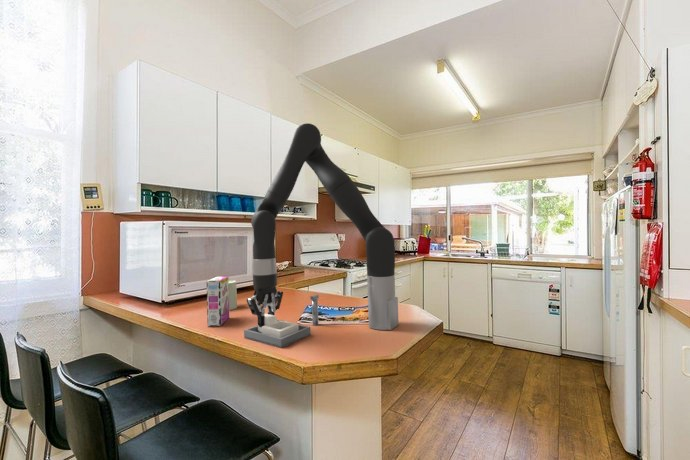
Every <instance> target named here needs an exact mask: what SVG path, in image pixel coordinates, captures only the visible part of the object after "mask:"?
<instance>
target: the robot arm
mask: <svg viewBox="0 0 690 460" xmlns="http://www.w3.org/2000/svg"><path fill="white" fill-rule="evenodd" d="M321 135H322V134H321V132H320V129H319V128H318V127H317V126H316V125H315V124H312V123H306V122H305V123H303V124H300V125H299V126H298V127H297V128H296V129H295V132H294V134H293V137H292V141H291V143H290V145H289V146H290V147H289V148H288V150H287V154H286V156H285V157H284V160H283V162H282V163H281V166H280V168H279V169H278V171H277V172H276V175H275V176H274V178H273V180H272V182H271V184H270V186H269V187H268V189H267V191H266V192H265V194H264V197H263V199H262V201H261V202H260V204H259V206H258V207H257V209H256V210H255V212H254V214H253V215H252V217H251V221H250V223H251V227H252V229H253V244H252V280H253V281H252V286H253V289H254V292H253V295H252V296H251V297H247V298H246V303H247V306H248V308H249V310H250V313H251V314H252V315H254V316H257V325H258V326H259V327H262V326H265V322H264V318H265V316H264V314H266V309H267V311H268V312H267V314H270V315H275V313H276V311H277V310H280V307H281V303H282V299H283V296H284V292H283V290H278V289H277V285H278V272H277V271H278V269H277V268H278V267H277V261H276V247H275V246H276V245H275V241H276V231H277V230H276V229H277V228H276V226H277V224H276V222H277V221H276V218H277V217H278V214H279V213H280V211H281V210H282V208H284V206H285V205H286V203H287V201H288V200H289V197H290V196H291V194H292V192H293V190H294V188H295V185H296V183H297V180H298V178H299V175H300V173H301V170H302V168H303V166H304V164H305V163H306V164H307V166H309V167H310V168H311V170H313V172H314V174H315V176H316V177H317V178H318V180H319V181H320V183H321V185H322V186H323V188H324V189H325V191H326V192H327V194H328V195H329V196H330V198H331V200H332V201H333V202H334V203H335V205H336V206H337V207H338V209H340V211H341V212H342V213H343V214H344V215H345V216H346V217H347V218H348V219H349V220H350V221H351V222H352V223H353V225H355V228H357V230H358V231H359V233H360V236H361V237H362V239H363V240H364V242H365V250H366V251H365V252H366V253H365V254H366V255H365V256H366V275H367V276H366V278H367V311H368V312H367V313H368V314H367V315H368V327H369V328H370V329H374V330H380V331H386V330H388V331H391V330H393V329H395V328H396V327H398V326H400V325H399V298H398V296H396V275H395V274H396V273H395V272H396V271H395V268H396V259H395V258H396V257H395V254H396V253H395V246H396V245H395V238H394V235H393V233H392V232H391V231H390V230H389V229H387V228H386V227H385V226H384V225H383V224H382V223H381V222H380V220H378V218H377V217H376V216H375V215H374V214H373V212H372V210H371V209H370V207H369V205H368V203H367V201H366V200H365V198H364V196H363V195H362V192H361V191H360V190H359V188H358V186H357V185H356V184H355V182H354V181H353V180H352V179H351V177H350V176H349V175H348V174H347V173H346V172H345V171H344V170H343V169H341V167H339V166H338V165H337V164H335V163H334V162H333V161H332V160H331V158H330V157H329V156H328V154H327V152H326V151H325V149H324V148H323V146H322V144H321V143H322V136H321ZM275 316H276V315H275Z"/></svg>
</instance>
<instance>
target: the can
mask: <svg viewBox="0 0 690 460" xmlns="http://www.w3.org/2000/svg"><path fill="white" fill-rule="evenodd" d="M237 295H238V293H237V280H233V279H230V280H229V311H233V310H236V309H237V308H238V297H237Z"/></svg>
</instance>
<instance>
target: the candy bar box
mask: <svg viewBox="0 0 690 460" xmlns="http://www.w3.org/2000/svg"><path fill="white" fill-rule="evenodd" d="M206 309H207V311H206V313H207V316H206V317H207V322H206V323H207V327H208V328H210V327H211V328H212V327H213V328H214V327H221V326H222V325H223V324H224V323H225V322H226V321H228V319H229V318H230V310H229V276H224V275H222V276H215V277H213V278H210V279H208V280H206Z"/></svg>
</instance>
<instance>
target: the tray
mask: <svg viewBox="0 0 690 460" xmlns="http://www.w3.org/2000/svg"><path fill="white" fill-rule="evenodd" d="M276 321H279V320H277V319H276ZM298 325H299V331H297V332H294V333H292V334H290V335H287V336H285V337H283V338H279V337H275V336H271V335H267V334H263V333H262V332H258V324H256V325H255V326H254V325H253V326H252V327H248V328H246V329H243V338H244V339H245V340H251V341H254V342H258V343H261V344H265V345H269V346H272V347H275V346H276V347H277V348H279V349H282V348H283V349H284V348H285V347H287V346H289V345H291V344H294V343H296V342H299V341H300V340H303V339H305V338H307V337H309V336H311V335H312V334H311V333H312V332H311V326H307V325H301V324H298Z"/></svg>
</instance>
